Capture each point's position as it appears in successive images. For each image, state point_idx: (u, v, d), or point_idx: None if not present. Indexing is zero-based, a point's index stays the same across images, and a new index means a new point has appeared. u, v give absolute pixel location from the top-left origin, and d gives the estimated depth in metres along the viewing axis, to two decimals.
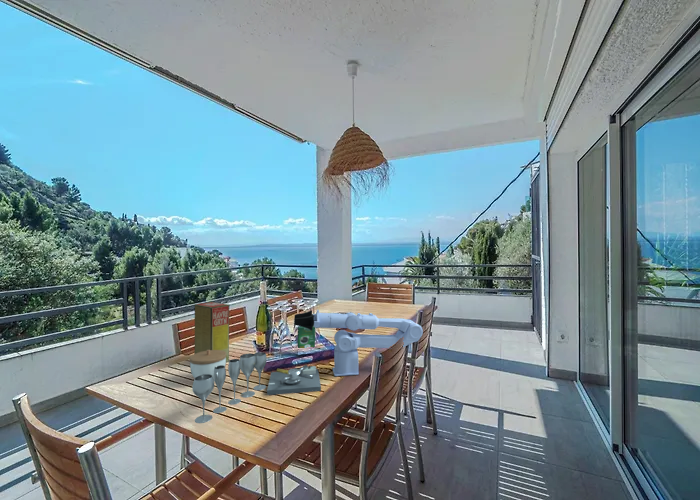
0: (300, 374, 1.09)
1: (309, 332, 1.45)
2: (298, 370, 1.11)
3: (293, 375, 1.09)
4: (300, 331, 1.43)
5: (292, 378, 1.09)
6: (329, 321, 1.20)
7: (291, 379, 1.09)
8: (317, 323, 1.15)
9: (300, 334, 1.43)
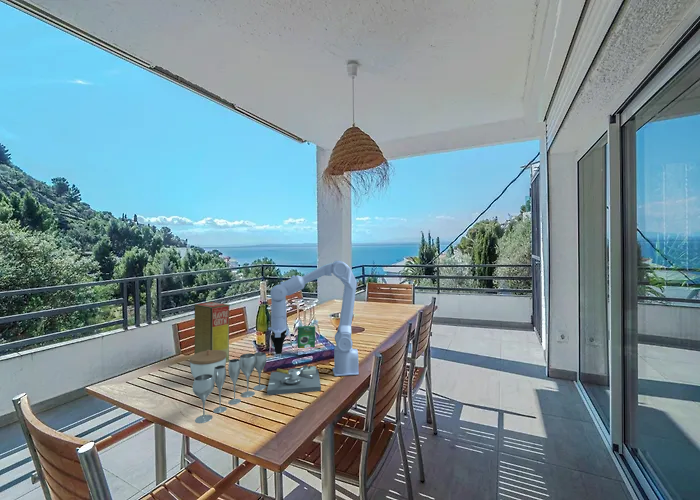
0: (300, 374, 1.09)
1: (309, 332, 1.45)
2: (298, 370, 1.11)
3: (293, 375, 1.09)
4: (300, 331, 1.43)
5: (292, 378, 1.09)
6: (277, 318, 1.18)
7: (291, 379, 1.09)
8: (276, 334, 1.14)
9: (300, 334, 1.43)
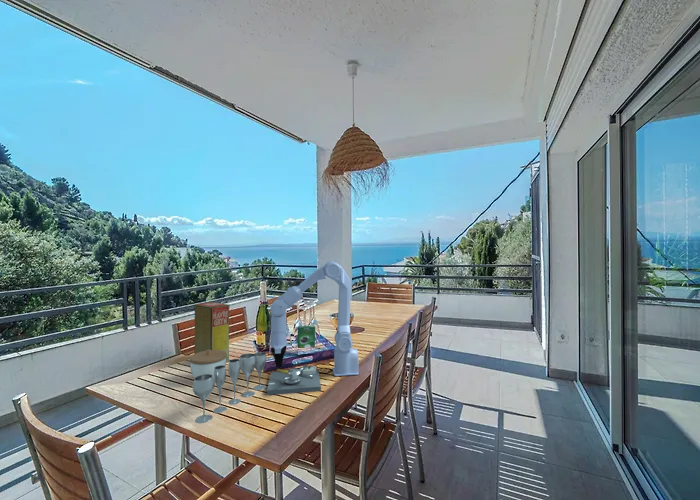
0: (300, 374, 1.09)
1: (309, 332, 1.45)
2: (298, 370, 1.11)
3: (293, 375, 1.09)
4: (300, 331, 1.43)
5: (292, 378, 1.09)
6: (277, 333, 1.18)
7: (291, 379, 1.09)
8: (276, 350, 1.13)
9: (300, 334, 1.43)
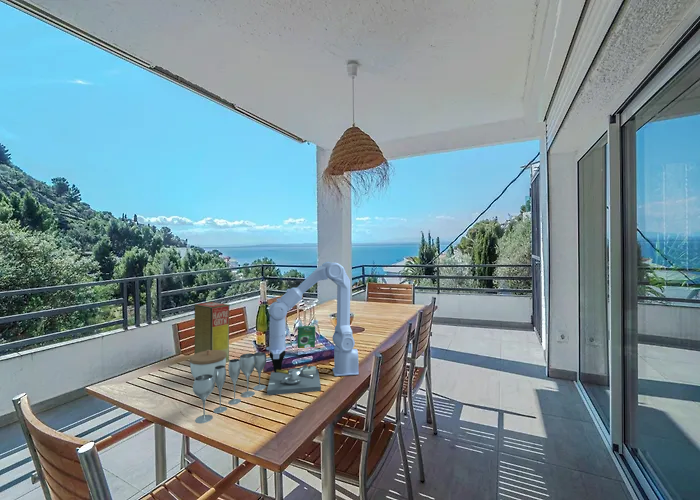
0: (300, 374, 1.09)
1: (309, 332, 1.45)
2: (298, 370, 1.11)
3: (293, 375, 1.09)
4: (300, 331, 1.43)
5: (292, 378, 1.09)
6: (276, 337, 1.12)
7: (291, 379, 1.09)
8: (274, 355, 1.08)
9: (300, 334, 1.43)
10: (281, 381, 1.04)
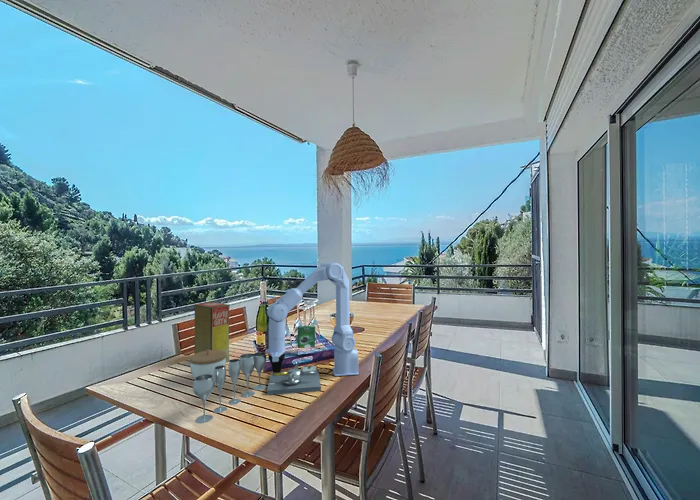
0: (302, 373, 1.11)
1: (309, 332, 1.45)
2: (297, 369, 1.12)
3: (296, 375, 1.09)
4: (300, 331, 1.43)
5: (295, 378, 1.09)
6: (275, 339, 1.09)
7: (294, 379, 1.09)
8: (274, 358, 1.05)
9: (300, 334, 1.43)
10: (291, 382, 1.03)
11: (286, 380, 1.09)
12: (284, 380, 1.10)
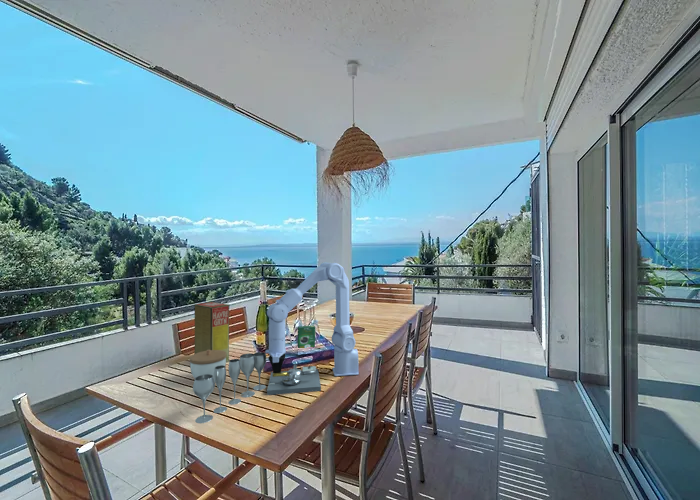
0: (302, 372, 1.11)
1: (309, 332, 1.45)
2: (297, 369, 1.12)
3: (297, 375, 1.09)
4: (300, 331, 1.43)
5: (296, 378, 1.09)
6: (275, 340, 1.09)
7: None
8: (274, 359, 1.04)
9: (300, 334, 1.43)
10: (293, 382, 1.04)
11: (286, 380, 1.09)
12: (284, 380, 1.09)
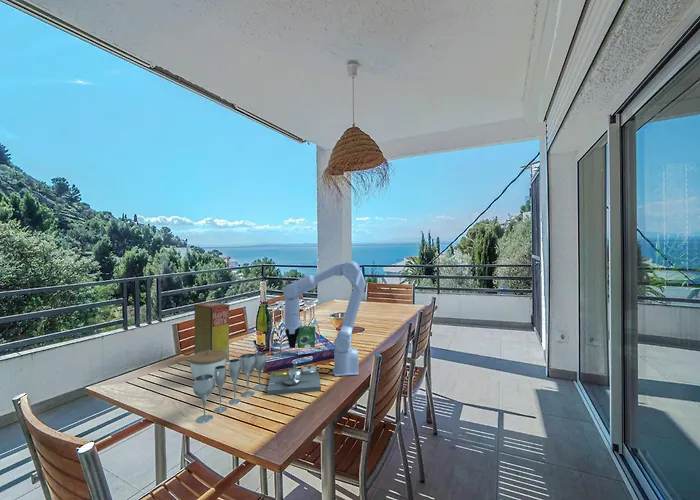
0: (302, 372, 1.11)
1: (309, 332, 1.45)
2: (297, 369, 1.12)
3: (297, 375, 1.09)
4: (300, 331, 1.43)
5: (296, 378, 1.09)
6: (291, 315, 1.23)
7: None
8: (290, 330, 1.18)
9: (300, 334, 1.43)
10: (293, 382, 1.04)
11: (286, 380, 1.09)
12: (284, 380, 1.09)
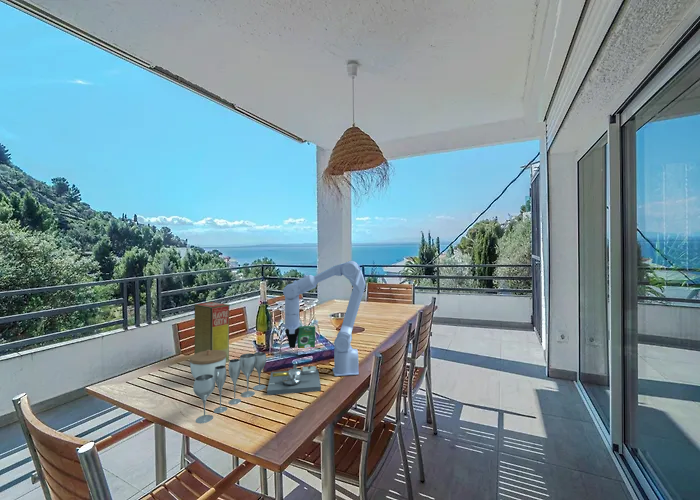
0: (302, 372, 1.11)
1: (309, 332, 1.45)
2: (297, 369, 1.12)
3: (297, 375, 1.09)
4: (300, 331, 1.43)
5: (296, 378, 1.09)
6: (291, 315, 1.23)
7: None
8: (290, 330, 1.18)
9: (300, 334, 1.43)
10: (293, 382, 1.04)
11: (286, 380, 1.09)
12: (284, 380, 1.09)
